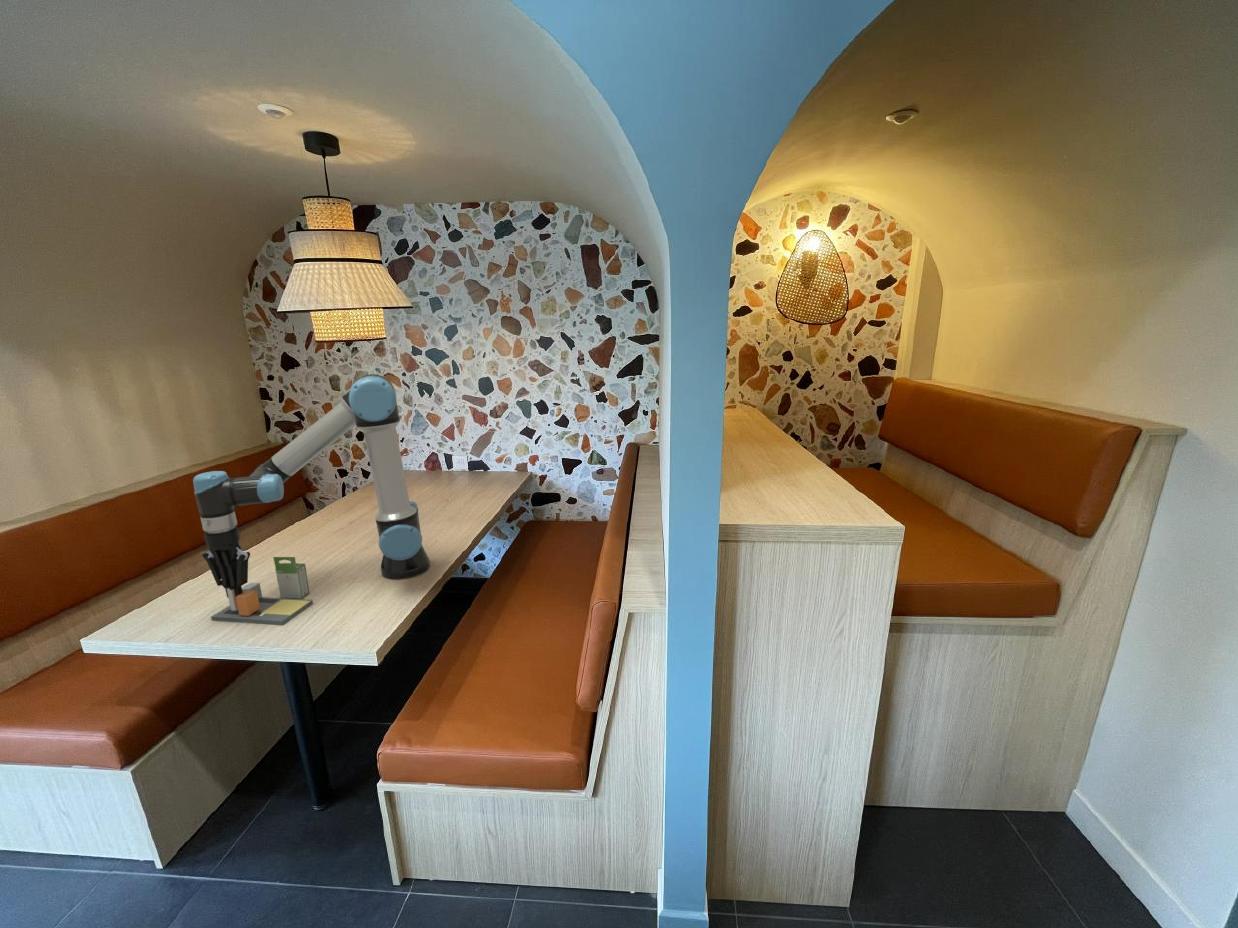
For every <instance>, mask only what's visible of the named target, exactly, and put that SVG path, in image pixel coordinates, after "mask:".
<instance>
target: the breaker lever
mask: <svg viewBox="0 0 1238 928" xmlns="http://www.w3.org/2000/svg"><path fill="white" fill-rule="evenodd" d="M236 602H237V607H238V611H239V615H245V616H249V615H251V614H252V613H254V612H256V611H257V610H259V609H260V605H259V600H258V594H257V591H253V590H247V591H245V592H243V593H242V594H240V595H238V596H236Z"/></svg>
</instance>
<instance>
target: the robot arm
mask: <svg viewBox="0 0 1238 928" xmlns="http://www.w3.org/2000/svg"><path fill="white" fill-rule="evenodd" d="M400 422H401V420H400V413H399V408H398V402H397V395H396V389H395V387H394V385H393V383H392V382H391V381H390V380H389V379H387V378H386V376H385V377H384V376H382V375H380V374H375V373H374V374H373V373H372V374H366V375H364V376H362V377H360V378H359V379H358V380H357V381H355V382H354V383H353V385H351V388H350V389H349V391H347V392H346V393H345V394H344V395H343V396H341V397H340V402H339V404H337V405H336V406H335V407H333V408H332V409H330V410H329V411H328V412H327V413H325V414H324V415H323V416H321V417H320V419H318V420H317V421H315V422H314V423H313V424H311V426H309V427H308V428H307V429H305V430H304V431H303V432H302V433H300V434H299V435H298V436H296V437H295V438H294V439H292V440H291V441H290V442H289V443H288V444H286V445H285V446H284V447H282V449H280V450H279V451H277V453H275V454H274V455H273V456H271V457H270V458H269V459H267V461H264V463H262V464H260V465H259V466H258V467H256V468H255V469H254V471H253V472H252V473H251V474H250V475H249V476H243V477H230V476H228V474H227V472H226V471H225V470H223V471H222V470H213V471H207V472H202V473H199V474H196V475H195V476H194V477H193V480H192V483H193V489H194V496H195V500H196V504H197V508H198V512H199V517H200V522H201V525H202V531H204V533H203V536H204V541H205V544H206V546H207V547H209V548H208V551H206V552H204V553H202V555H201V556H202V558H204V560H205V561H206V563H207V565H208V568H209V569H210V572H211V574H212V576H213V578H214V581H215V583H216V585H217V586H218V587H219V586H222V587H223V589H225V594H226V597H227V599H228V600H229V606H230V607H231V610H233V611H236V610H238V607H237V602H236V596H238V595H240V594H242V593H243V592H242V587H243V586H245V585H247V584H248V582H249V581H248V578H249V559H250V556H251V553H250V551H246V552H245V551H243V550H242V547H241V545H240V543H239V541H240V539H241V536H240V532H239V526H238V520H237V516H236V512H235V511H236V510H235V507H237V506H247V505H255V504H269V503H270V504H271V502H278V501H280V500H281V501H282V499H283V498H284V493H285V489H284V487H285V486H284V483H285V482H287V481H288V480H289V479H290V478H291V477H292V476H294V475H295V474H296V473H297V472H298V471H300V470H301V469H302V468H304V466H306V465H307V464H309V463H310V462H312V461H313V460H314V458H316V457H317V456H319V455H320V454H321V453H323V452H324V451H325V450H326V449H327V448H329V447H330V446H331V445H332V444H334V443H335V442H336V441H338V440H339V439H340V438H341V437H342V436H344V435H345V434H346V433H348V432H349V431H350V430H351V429H352V428H354V427H355V426H356V429H359V430H360V431H362V433H363V437H364V441H365V446H366V447H365V448H366V451H367V456H368V461H369V466H370V470H371V471H370V472H371V475H372V479H373V481H372V482H373V486H374V489H375V490H374V491H375V495H376V501H377V505H378V512H377V514H376V515H375V523H376V528H377V533H378V538H379V540H378V547H379V550H380V551H381V553H382V554H383V555H382V559H381V562H380V563H381V564H380V574H381V576H382V577H383V578H385V579H389V580H402V579H409V578H414V577H416V576H419V575H422V574H423V573H425V572H427V571H428V570H429V569H430V566H431V564H430V558H429V556H428V554H427V551H425V548H424V546H423V536H422V532H421V531H422V530H421V526H420V525H421V524H420V518H419V517H420V516H419V508H418V503H417V502H416V501H412V500H410V497H409V492H408V491H409V490H408V486H407V481H406V475H405V471H404V466H403V460H402V459H403V458H402V453H401V449H400V443H399V440H398V439H399V437H398V434H397V429H396V428H397V426H398V425H399V424H400Z"/></svg>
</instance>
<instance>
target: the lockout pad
mask: <svg viewBox="0 0 1238 928" xmlns="http://www.w3.org/2000/svg"><path fill="white" fill-rule="evenodd" d="M309 602H310V601H302V600H285V599H282V600H281V601H279V602H278V603H276V604H274V605H273V606H271V607H270V608H268V609H267V610H265V611H264V612H262V613H261V614H272V615H288V616H290V615H292V614H293V613H295V612H296V611H298V610H299V609H300V608H302V607H303V606H305V605H306V604H308V603H309Z"/></svg>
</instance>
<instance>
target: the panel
mask: <svg viewBox="0 0 1238 928" xmlns="http://www.w3.org/2000/svg"><path fill="white" fill-rule="evenodd" d="M241 587H242V592H245V591H247V590H253V591H257V594H258V600H259V605H260V609H259V610H257V611H256V612H254V613H252V614H251V615H249V616H245V615H239V611H238V610H236V611H233V610H231V607H230V605H228V606H227V607H225V608H223V609H221V610H220V611H218V612H215V614H213V615H211V616H210V619H211V621H213V622H216V621H217V622H227V623H242V624H244V623H245V624H259V625H260V624H261V625H273V626H274V625H275V626H276V625H277V626H284V625H285V624H287V623H289V621H291V620H293V619H294V618H295V617H297V616H298V615H299V614H301V613H302V612H304V611H306V610H307V609H308V608H310V607H311V606H312V605H314V600H313V599H303V598H280V597H270V596H269V597H268V596H266V597H265V596H263V594H262V588H261V583H260V582H249V583H246V584H244V585H243V586H241ZM282 599H285V600H302V601H310V602H309V603H308V604H306V605H305V606H303V607H302V608H300V609H299V610H298V611H296V612H295V613H293V614H292V615H290V616H288V615H272V614H261V613H262V612H264V611H265V610H267V609H268V608H270V607H271V606H273V605H274V604H276V603H278V602H279V601H281V600H282Z"/></svg>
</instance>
